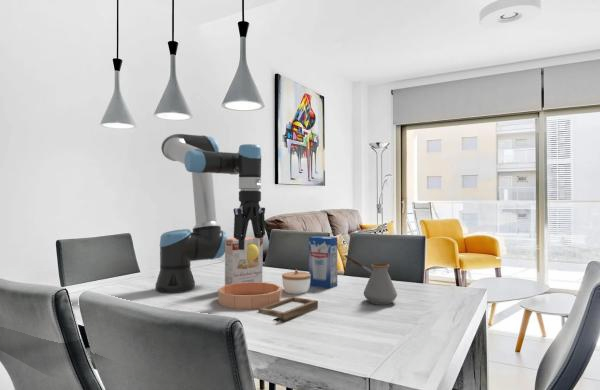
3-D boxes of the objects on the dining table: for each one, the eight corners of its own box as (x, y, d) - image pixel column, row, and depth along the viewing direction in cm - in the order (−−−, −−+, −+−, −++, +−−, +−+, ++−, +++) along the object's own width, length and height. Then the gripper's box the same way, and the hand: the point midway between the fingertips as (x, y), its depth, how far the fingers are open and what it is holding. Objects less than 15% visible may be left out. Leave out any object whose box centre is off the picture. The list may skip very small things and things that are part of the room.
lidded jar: (307, 299, 145) (307, 273, 145) (278, 297, 147) (278, 272, 147) (313, 292, 155) (312, 267, 155) (285, 291, 158) (285, 267, 158)
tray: (258, 316, 124) (258, 308, 124) (293, 303, 138) (293, 296, 138) (284, 322, 118) (284, 313, 118) (317, 308, 133) (317, 300, 133)
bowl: (205, 306, 135) (205, 290, 135) (248, 294, 152) (248, 279, 152) (252, 317, 123) (252, 299, 123) (293, 302, 140) (292, 286, 140)
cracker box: (232, 296, 149) (232, 239, 149) (224, 294, 153) (224, 238, 153) (263, 291, 158) (263, 237, 158) (254, 288, 162) (254, 236, 163)
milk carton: (337, 285, 167) (337, 237, 167) (330, 288, 161) (330, 238, 162) (316, 283, 172) (316, 236, 172) (309, 285, 167) (308, 237, 167)
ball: (237, 260, 137) (237, 243, 137) (249, 258, 142) (249, 241, 142) (250, 262, 134) (250, 244, 134) (262, 260, 139) (262, 242, 139)
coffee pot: (403, 301, 141) (403, 258, 141) (386, 308, 133) (385, 262, 133) (352, 292, 156) (352, 253, 156) (334, 297, 147) (334, 256, 147)
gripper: (238, 189, 128) (238, 262, 128) (275, 190, 144) (275, 255, 144) (221, 189, 132) (221, 260, 132) (259, 190, 148) (259, 253, 148)
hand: (249, 257), depth 138 cm, fingers closed on ball, 6 cm apart
